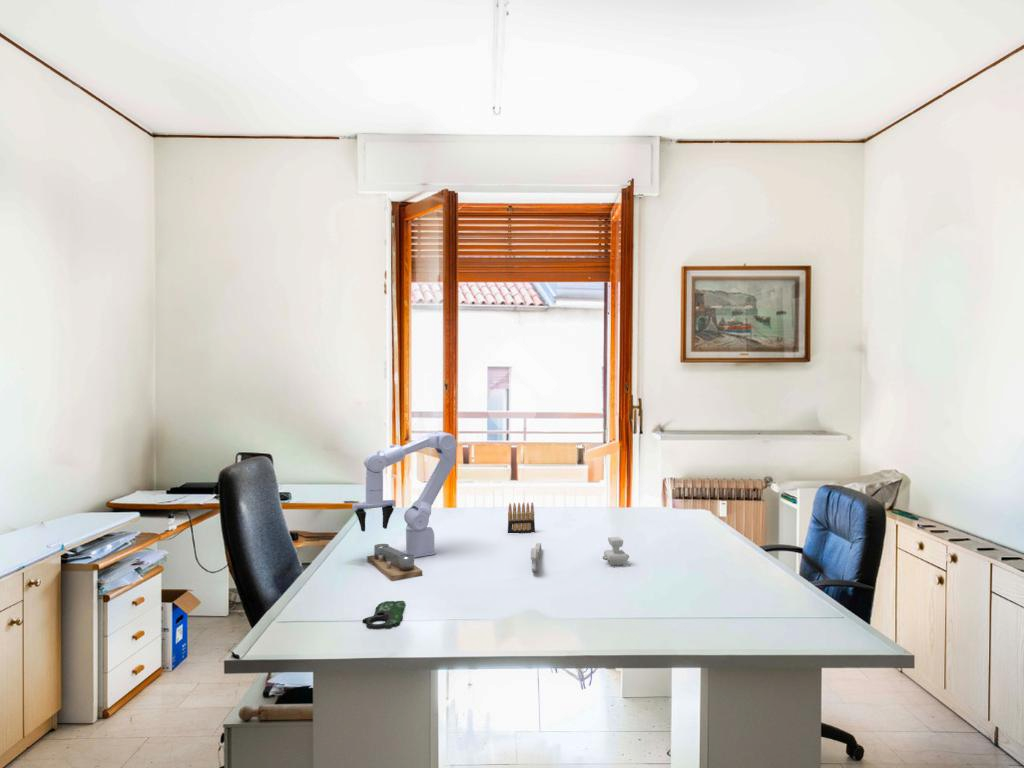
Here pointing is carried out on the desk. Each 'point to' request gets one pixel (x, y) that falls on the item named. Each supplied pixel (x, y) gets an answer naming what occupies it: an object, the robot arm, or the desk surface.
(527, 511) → the ammunition clip
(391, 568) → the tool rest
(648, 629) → the desk surface
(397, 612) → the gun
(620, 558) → the stamp
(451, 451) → the robot arm
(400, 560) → the grey elongated piece
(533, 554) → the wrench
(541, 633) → the desk surface
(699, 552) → the desk surface
